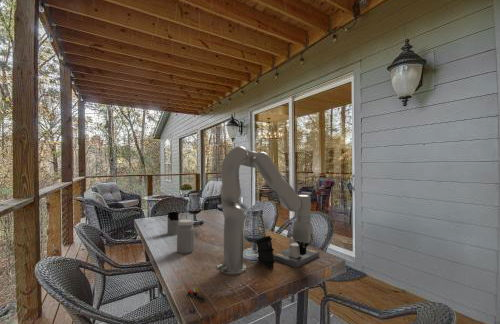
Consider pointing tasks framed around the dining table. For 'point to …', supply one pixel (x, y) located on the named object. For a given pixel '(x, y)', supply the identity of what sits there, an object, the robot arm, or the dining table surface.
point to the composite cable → (195, 295)
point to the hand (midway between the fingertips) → (302, 254)
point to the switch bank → (295, 262)
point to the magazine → (265, 252)
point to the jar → (185, 236)
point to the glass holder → (173, 223)
